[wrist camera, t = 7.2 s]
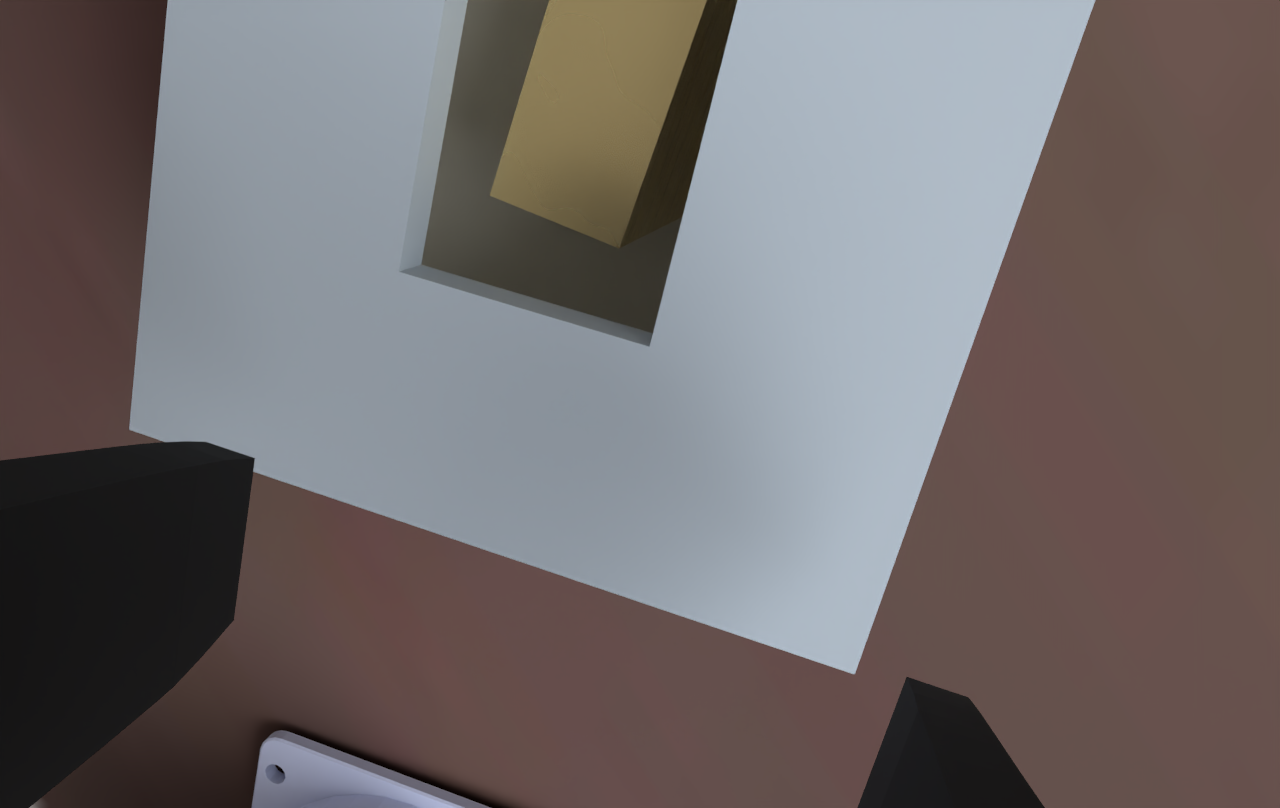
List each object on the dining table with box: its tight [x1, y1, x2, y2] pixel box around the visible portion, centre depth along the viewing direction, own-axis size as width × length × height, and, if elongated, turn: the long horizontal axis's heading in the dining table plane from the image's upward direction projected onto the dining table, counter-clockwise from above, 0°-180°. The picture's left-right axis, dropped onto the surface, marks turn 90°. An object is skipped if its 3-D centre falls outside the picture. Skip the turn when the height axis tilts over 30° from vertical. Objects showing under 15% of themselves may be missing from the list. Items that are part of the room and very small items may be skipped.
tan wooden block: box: [490, 0, 737, 248], centre depth 16 cm, size 5×2×5 cm, turn 160°
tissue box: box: [129, 0, 1095, 674], centre depth 16 cm, size 14×11×7 cm
